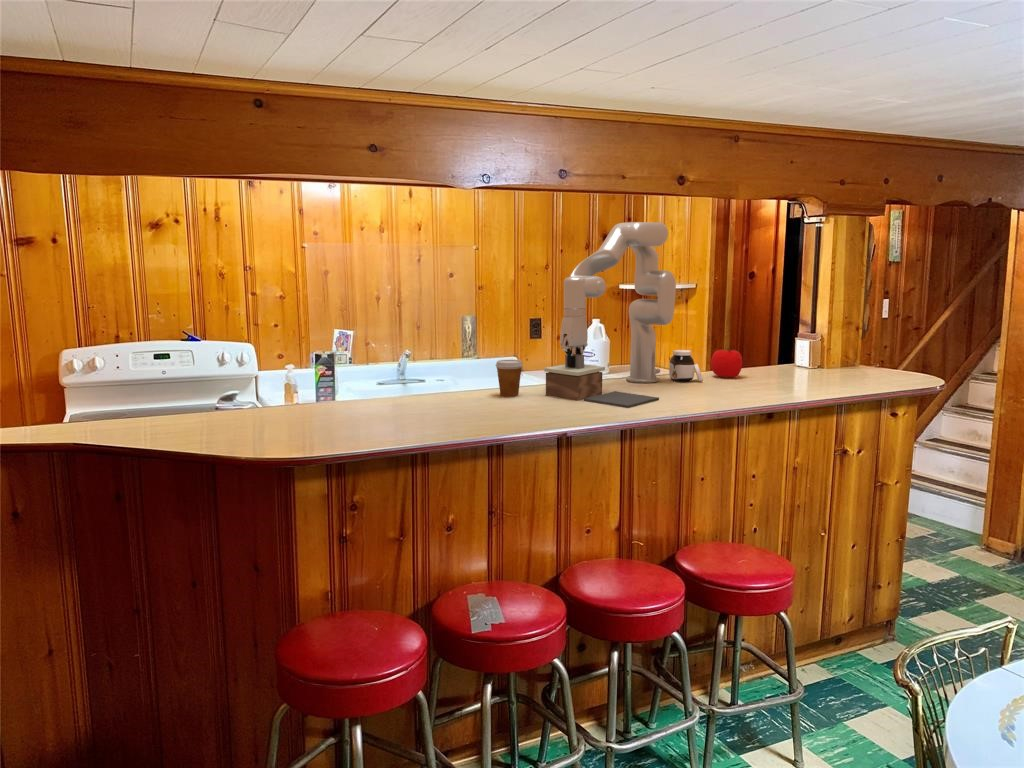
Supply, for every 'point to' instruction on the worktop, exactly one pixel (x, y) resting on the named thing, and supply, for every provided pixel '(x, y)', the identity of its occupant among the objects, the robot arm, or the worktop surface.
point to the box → (573, 385)
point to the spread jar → (683, 367)
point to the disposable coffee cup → (509, 377)
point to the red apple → (726, 363)
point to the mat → (621, 399)
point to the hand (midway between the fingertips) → (574, 365)
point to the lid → (578, 369)
